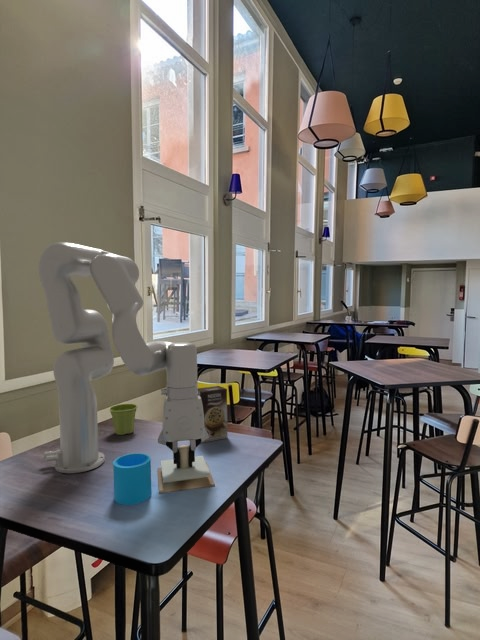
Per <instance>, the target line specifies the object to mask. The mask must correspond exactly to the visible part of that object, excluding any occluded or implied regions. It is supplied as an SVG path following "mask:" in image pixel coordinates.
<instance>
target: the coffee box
mask: <svg viewBox="0 0 480 640" xmlns="http://www.w3.org/2000/svg"><path fill="white" fill-rule="evenodd" d="M198 396H200V397H201V400H202V405H203V413H204V426H205V429H206V431H207V433H208V435H209V438H208V439H206V440H204V441H202V442H201V443H207V442H213V441H218V440H223V439H228V389H227V388H226V387H224V386H220V385H217V386H208V387H207V386H206V387H205V386H204V387H198Z"/></svg>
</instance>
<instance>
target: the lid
mask: <svg viewBox="0 0 480 640" xmlns="http://www.w3.org/2000/svg"><path fill="white" fill-rule="evenodd" d="M178 449H179V452H180V468H178V469H177V466H176V464H174V461H173V459H172V458H170V459H164V460H163V459H162V460H160V468H161V470H162V477H163V483H166V482H173V481H180V480H188V479H195V478H203V477H210V472H211V471H210V472H209V470H210V469H209V470H208V467H209V466H208V467H207V465H206V463H205V462H206V460H205V458H204V455H197V456H196V455H195V462H192V467H189V445H187V444H181V445H179V446H178Z"/></svg>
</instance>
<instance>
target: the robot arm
mask: <svg viewBox="0 0 480 640" xmlns="http://www.w3.org/2000/svg"><path fill="white" fill-rule="evenodd" d="M37 266H38V267H37V271H38V277H39V280H40V282H41V286H42V289H43V293H44V295H45V300H46V305H47V306H46V307H47V310H48V315H49V316H48V317H49V322H50V327H51V332H52V335H53V338H54V340H55V342H57V343H59V344H60V345H64V346H65V345H76V344H81V346H82V347H77V348H73V349H68V350H66V351H64V352H62V353H60V354H59V355H58V356H57V357H56V358H55V360H54V363H53V365H52V366H53V367H52V371H53V372H52V373H53V378H54V380H55V385H56V388H57V396H58V397H57V399H58V411H59V412H58V416H59V418H58V419H59V440H60V449H56V450H55V451H54V450H53V451H52V450H50V451H49V450H48V451H44V453H43V459H44V460H45V461H46V462H52V461H55V463H54V469H55V470H56V471H57V472H59V473H63V474H78V473H83V472H87V471H90V470H91V471H92V470H93V469H96V468H98V467H99V466H102V465H103V463H104V462H105V460H106V458H105V454H104V452H100V451H99V428H98V427H99V425H98V400H97V394H96V391H95V389H94V387H93V385H92V383H91V382H92V381H95V380H99V379H101V378H104V377H106V376H108V375H109V374H110V373H111V372H112V370H113V367H114V362H115V361H114V360H115V358H114V352H113V346H112V341H113V344H114V346H115V350H116V351H117V352H118V354H119V356H120V359H121V360H122V362H123V363H124V365H125V366H126V368H127V369H128V370H129V371H130V372H131V373H132V374H135V375H137V376H146V375H150V374H153V373H155V372H159V371H163V370H166V386H165V388H162V389H160V393H161V394H160V395H164V396H166V398H164V401H163V405H162V406H163V407H162V424H161V425H162V426H161V428H162V429H161V431H160V433H159V436H158V438H157V443H158V444H159V445H162V446H165V447H167V448H168V449H170V450H171V451H172V453H173V455H172V456H173V461H174V464H176V466H177V469H178V468H180V452H179V446H178V443H179V442H182V441H189V445H188V446H189V467H192V462H195V456H196V455H195V453H196V452H195V451H196V450H197V448H198V447H199V445H200V444H201V443H202V441H204V440H206V439H208V438H209V435H208V433H207V431H206V429H205V426H204V413H203V405H202V400H201V397H200V396H198V388H199V387H198V386H199V385H198V353H197V352H198V350H197V349H198V348H197V345H196V344H195V343H193V342H189V341H186V342H185V341H183V342H181V341H180V342H172V341H171V342H170V341H165V340H155V341H149V342H148V341H147V342H145V340H144V338H143V336H142V334H141V333H140V332H141V331H140V330H139V328H138V324H137V316H138V315H137V314H138V312H139V311H140V310H141V309H142V308H143V305H144V298H143V297H142V296H141V294H140V292H139V291H138V288H137V286H136V285H135V284H137V282H138V280H139V278H140V270H139V267H138V265H137V263H136V261H134V260H133V259H132V258H130V257H127V256H124V255H123V256H122V255H120V254H115V253H112V252H109V251H105V250H103V249H100V248H95V247H90V246H88V245H87V246H86V245H82V244H79V243H73V242H66V241H64V242H63V241H58V242H54V243H51V244H49V245H48V246H46V247H45V248H44V249H43V251H42V252H41V255H40V256H39V260H38V264H37ZM72 276H77V277H86V278H92V279H93V281H94V283H95V285H96V286H97V287H96V288H97V289H98V291H99V293H100V294H101V296H102V298H103V300H104V302H105V304H106V305H107V307H108V310H109V312H110V313H111V316H112V320H111V335H112V341H111V336H110V330H109V326H108V323H107V321H106V319H105V317H104V315H102V314H101V313H100V312H99V311H97V310H95V309H86V308H85V309H84V307H83V304H82V299H81V294H80V291H79V289H78V287H77V285H76V284H75V283H74V281H73V280H72V278H71V277H72Z"/></svg>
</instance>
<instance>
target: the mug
mask: <svg viewBox="0 0 480 640" xmlns="http://www.w3.org/2000/svg"><path fill="white" fill-rule="evenodd" d="M151 461H152V460H151V456H150V455H148V454H146V453H144V452H143V453H141V452H135V453H133V452H132V453H127V454H124V455H121V456H119V457H117V458H116V459H114V460H113V462H112V465H113V466H112V467H113V468H112V469H113V495H114V497H113V499H114V502H115V503H117V504H118V505H124V506H130V505H137V504H140V503H143V502H145V501H146V500H148V499H149V498H151V496H152V492H153V491H152V465H151V464H152V462H151Z"/></svg>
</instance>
